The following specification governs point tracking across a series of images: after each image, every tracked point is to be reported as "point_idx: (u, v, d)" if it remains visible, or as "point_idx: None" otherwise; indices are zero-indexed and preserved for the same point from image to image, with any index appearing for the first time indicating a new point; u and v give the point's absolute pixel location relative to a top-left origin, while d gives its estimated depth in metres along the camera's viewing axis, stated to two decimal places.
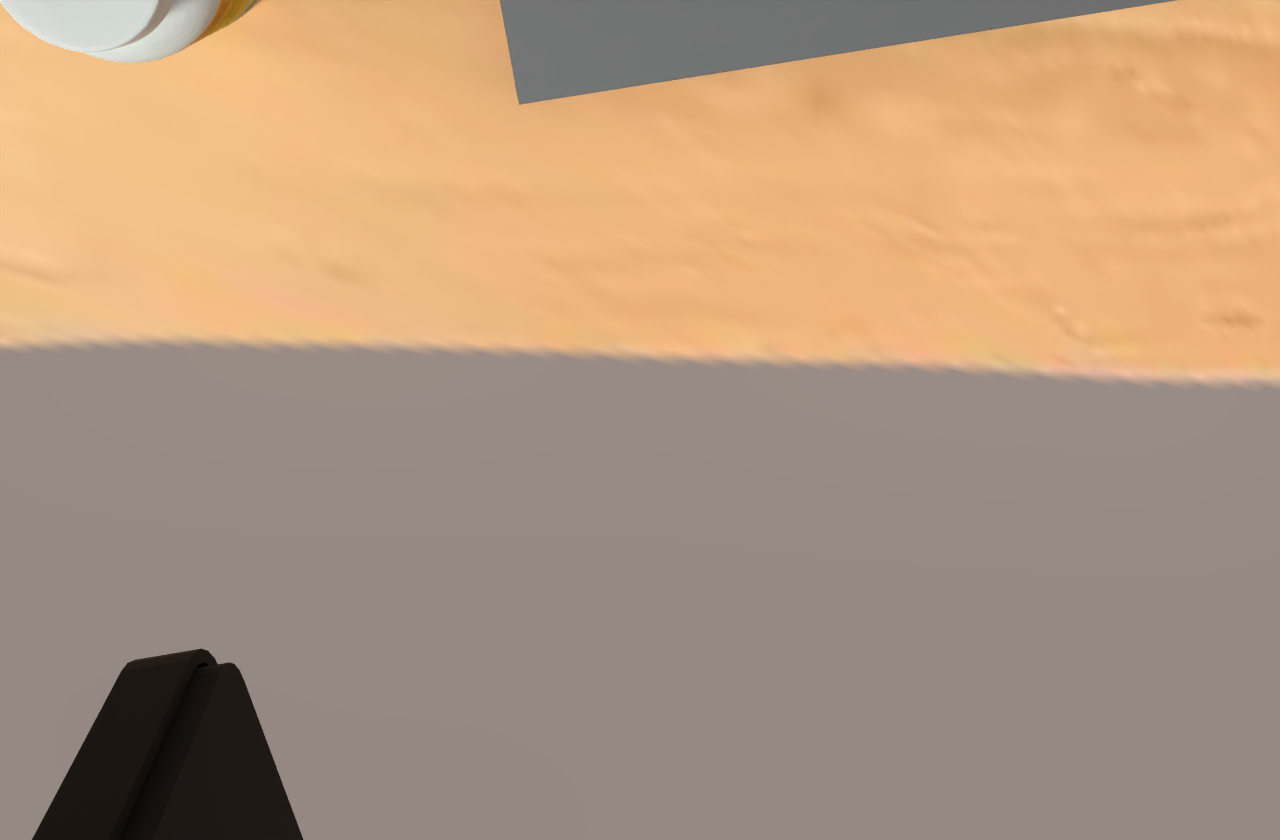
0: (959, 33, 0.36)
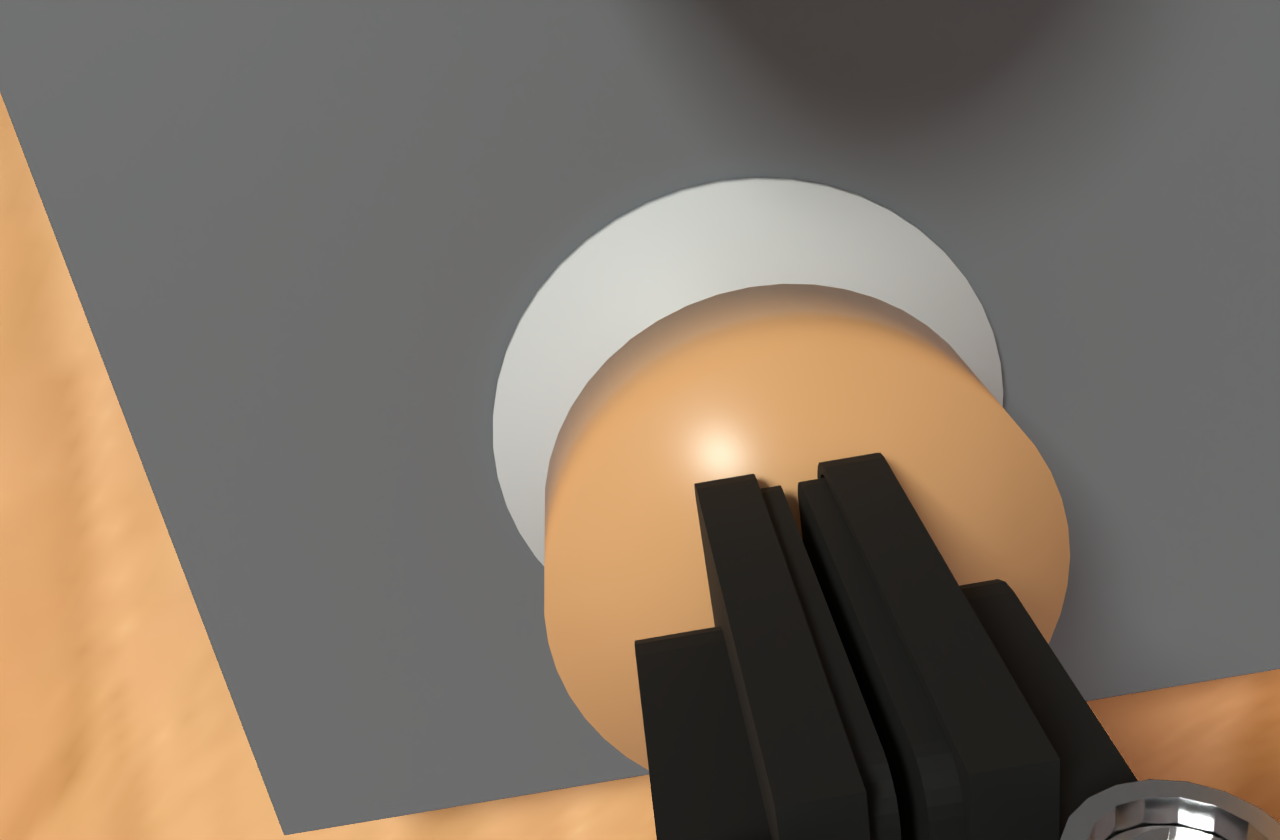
0: None
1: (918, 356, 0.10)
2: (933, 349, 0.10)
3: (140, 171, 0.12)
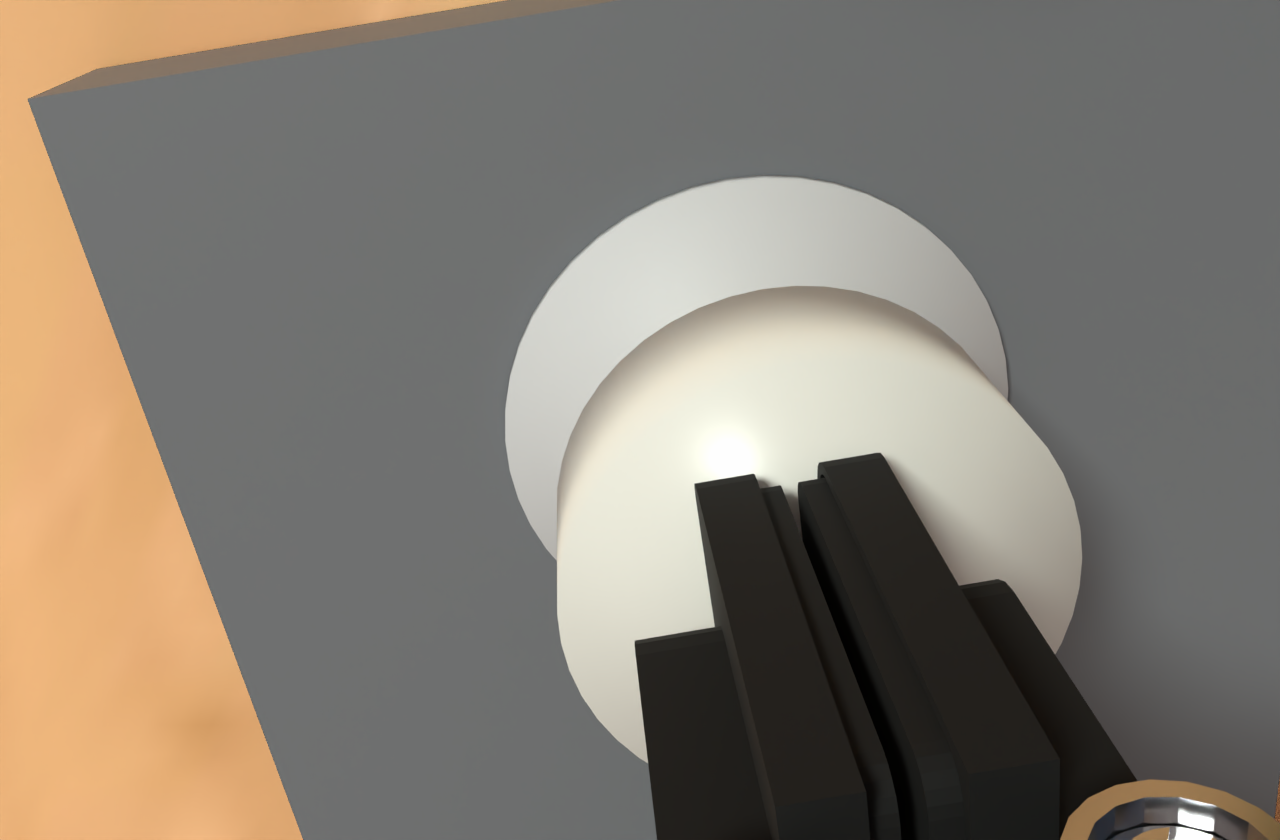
0: None
1: None
2: None
3: None
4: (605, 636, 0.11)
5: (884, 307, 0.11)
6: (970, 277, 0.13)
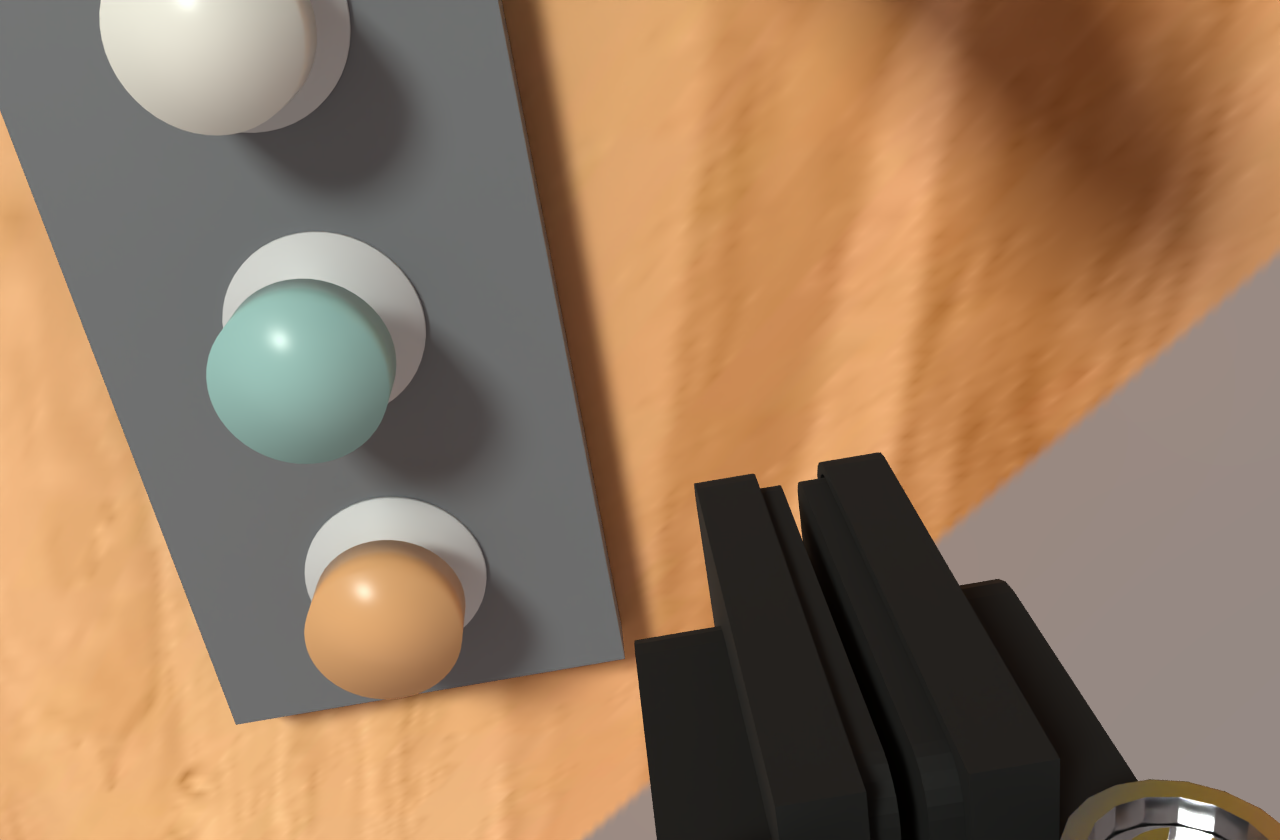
0: (95, 356, 0.35)
1: (406, 569, 0.35)
2: (417, 564, 0.36)
3: (185, 499, 0.37)
4: (122, 49, 0.28)
5: None
6: None
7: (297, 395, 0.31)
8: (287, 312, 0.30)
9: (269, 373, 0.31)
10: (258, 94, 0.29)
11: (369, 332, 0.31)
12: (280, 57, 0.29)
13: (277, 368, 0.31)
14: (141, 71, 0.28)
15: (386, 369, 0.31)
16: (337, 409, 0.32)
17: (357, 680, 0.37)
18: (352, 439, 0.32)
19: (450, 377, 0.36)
